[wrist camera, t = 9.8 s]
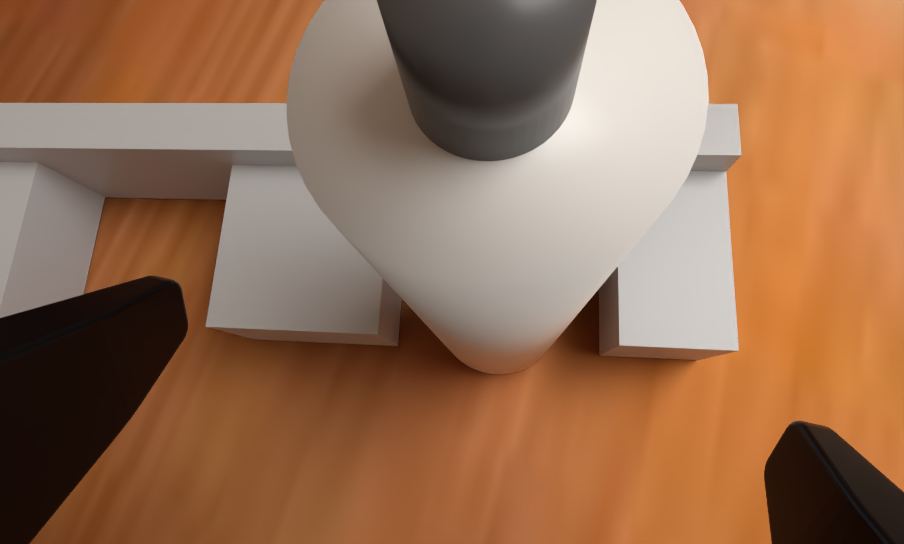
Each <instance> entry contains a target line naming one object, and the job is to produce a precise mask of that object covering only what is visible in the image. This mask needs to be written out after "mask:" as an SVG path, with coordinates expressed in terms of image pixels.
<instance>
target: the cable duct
mask: <svg viewBox="0 0 904 544" xmlns="http://www.w3.org/2000/svg"><path fill="white" fill-rule="evenodd" d="M740 156H741V143H740V130H739V118H738V105H737V104H708V110H707V119H706V127H705V130H704V134H703V138H702V141H701V145H700V149H699V152H698V154H697V157H696V159H695V161H694V163H693V166H692V168H691V170H690V173H689V175H688V177H687V179H686V180H685V182H684V183H683V185H682V186H681V188H680V190H679V191H678V193H677V194H676V196H675V197H674V199H673V201H672V202H671V203H670V204H669V205H668V207H667V208H666V209H665V210H664V211H663V213H662V214H661V215H660V216H659V217H658V219H657V220H656V221H655V222H654V223H653V225H652V226H651V227H650V228H649V229H648V231H647V232H646V233H645V234H644V235H643V237H642V238H641V239H640V240H639V241H638V243H637V244H636V245H635V246H634V247H633V249H632V250H631V251H630V252H629V253H628V255H627V256H626V257H625V258H624V259H623V261H622V262H621V263H620V264H619V265H618V267H617V268H616V269H615V270H614V271H613V273H612V274H611V275H610V276H609V277H608V279H607V280H606V281H605V282H604V283H603V285H602V286H601V287H600V288H599V356H617V357H639V358H660V359H681V360H701V359H705V358H710V357H714V356H718V355H722V354H727V353H731V352H735V351H739V348H738V334H737V320H736V306H735V291H734V277H733V263H732V249H731V235H730V221H729V206H728V192H727V178H726V171H727V170H728V169H729V168H730V167H731V166H732V165H733V164H734V163H735V161H736V160H737V159H738V158H739V157H740ZM105 197H106V198H156V199H206V200H226V206H225V212H224V218H223V224H222V230H221V236H220V242H219V248H218V254H217V260H216V266H215V272H214V278H213V284H212V291H211V297H210V303H209V309H208V315H207V321H206V327H208V328H212V329H216V330H220V331H223V332H227V333H231V334H235V335H238V336H242V337H246V338H250V339H256V340H277V341H299V342H320V343H341V344H362V345H384V346H398V339H399V326H400V313H401V301H402V298H401V297H400V296H399V295H398V294H397V293H396V292H395V291H394V290H393V289H392V288H391V287H390V285H389V284H388V283H387V282H386V281H385V280H384V279H383V278H382V277H381V276H380V275H379V274H378V272H377V271H376V270H375V269H374V268H373V267H372V266H371V265H370V264H369V263H368V262H367V261H366V260H365V258H364V257H363V256H362V255H361V254H360V253H359V252H358V251H357V250H356V249H355V248H354V247H353V245H352V244H351V243H350V242H349V241H348V240H347V239H346V238H345V237H344V236H343V235H342V234H341V233H340V231H339V230H338V229H337V228H336V227H335V226H334V225H333V224H332V222H331V221H330V220H329V219H328V218H327V216H326V215H325V214H324V213H323V212H322V211H321V209H320V208H319V207H318V205H317V204H316V202H315V200H314V199H313V197H312V196H311V194H310V192H309V191H308V189H307V188H306V186H305V184H304V181H303V179H302V177H301V174H300V172H299V170H298V168H297V165H296V163H295V159H294V155H293V152H292V148H291V144H290V141H289V133H288V125H287V103H0V318H2V317H5V316H9V315H12V314H16V313H19V312H23V311H27V310H30V309H34V308H37V307H41V306H44V305H48V304H51V303H55V302H58V301H62V300H65V299H69V298H72V297H76V296H79V295H83V294H84V290H85V285H86V281H87V276H88V272H89V267H90V263H91V258H92V254H93V249H94V245H95V240H96V236H97V231H98V227H99V222H100V218H101V213H102V209H103V204H104V200H105Z"/></svg>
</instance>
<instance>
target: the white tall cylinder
mask: <svg viewBox="0 0 904 544" xmlns="http://www.w3.org/2000/svg"><path fill="white" fill-rule="evenodd" d="M708 101H709V99H708V75H707V70H706V65H705V60H704V54H703V50H702V47H701V44H700V41H699V39H698V36H697V33H696V30H695V27H694V26H693V24H692V22H691V20H690V18H689V16H688V14H687V12H686V10H685V9H684V7H683V5H682V4H681V2H680V1H679V0H324V1H323V3H322V4H321V5H320V7H319V8H318V10H317V12H316V13H315V15H314V16H313V18H312V20H311V21H310V23H309V24H308V26H307V28H306V30H305V33H304V35H303V37H302V39H301V41H300V43H299V46H298V48H297V51H296V55H295V58H294V61H293V64H292V68H291V72H290V78H289V84H288V90H287V125H288V133H289V141H290V144H291V148H292V152H293V155H294V159H295V163H296V165H297V168H298V170H299V172H300V174H301V177H302V179H303V181H304V184H305V186H306V188H307V189H308V191H309V192H310V194H311V196H312V197H313V199H314V200H315V202H316V204H317V205H318V207H319V208H320V209H321V211H322V212H323V213H324V214H325V215H326V216H327V218H328V219H329V220H330V221H331V222H332V224H333V225H334V226H335V227H336V228H337V229H338V230H339V231H340V233H341V234H342V235H343V236H344V237H345V238H346V239H347V240H348V241H349V242H350V243H351V244H352V245H353V247H354V248H355V249H356V250H357V251H358V252H359V253H360V254H361V255H362V256H363V257H364V258H365V260H366V261H367V262H368V263H369V264H370V265H371V266H372V267H373V268H374V269H375V270H376V271H377V272H378V274H379V275H380V276H381V277H382V278H383V279H384V280H385V281H386V282H387V283H388V284H389V285H390V287H391V288H392V289H393V290H394V291H395V292H396V293H397V294H398V295H399V296H400V297H401V298H402V300H403V301H404V302H405V303H406V304H407V305H408V306H409V307H410V308H411V309H412V310H413V311H414V312H415V314H416V315H417V316H418V317H419V318H420V319H421V320H422V321H423V322H424V323H425V324H426V325H427V327H428V328H429V329H430V330H431V331H432V332H433V333H434V334H435V335H436V336H437V337H438V338H439V339H440V341H441V342H442V343H443V344H444V345H445V346H446V347H447V348H448V349H449V350H450V351H451V352H452V354H453V355H454V356H455V357H456V358H458V359H459V360H460V361H461V362H462V363H464V364H465V365H467V366H469V367H471V368H472V369H474V370H477V371H480V372H483V373H488V374H498V375H499V374H510V373H515V372H518V371H521V370H523V369H525V368H527V367H529V366H531V365H532V364H534V363H535V362H537V361H538V360H539V359H540V358H541V357H542V356H543V355H544V354H545V353H546V352H547V351H548V349H549V348H550V347H551V346H552V345H553V343H554V342H555V341H556V340H557V339H558V337H559V336H560V335H561V334H562V333H563V331H564V330H565V329H566V328H567V327H568V325H569V324H570V323H571V322H572V321H573V319H574V318H575V317H576V316H577V315H578V313H579V312H580V311H581V310H582V309H583V307H584V306H585V305H586V304H587V303H588V301H589V300H590V299H591V298H592V297H593V295H594V294H595V293H596V292H597V291H598V289H599V288H600V287H601V286H602V285H603V283H604V282H605V281H606V280H607V279H608V277H609V276H610V275H611V274H612V273H613V271H614V270H615V269H616V268H617V267H618V265H619V264H620V263H621V262H622V261H623V259H624V258H625V257H626V256H627V255H628V253H629V252H630V251H631V250H632V249H633V247H634V246H635V245H636V244H637V243H638V241H639V240H640V239H641V238H642V237H643V235H644V234H645V233H646V232H647V231H648V229H649V228H650V227H651V226H652V225H653V223H654V222H655V221H656V220H657V219H658V217H659V216H660V215H661V214H662V213H663V211H664V210H665V209H666V208H667V207H668V205H669V204H670V203H671V202H672V201H673V199H674V197H675V196H676V194H677V193H678V191H679V190H680V188H681V186H682V185H683V183H684V182H685V180H686V179H687V177H688V175H689V173H690V170H691V168H692V166H693V163H694V161H695V159H696V157H697V154H698V152H699V149H700V145H701V141H702V138H703V134H704V130H705V127H706V119H707V110H708Z"/></svg>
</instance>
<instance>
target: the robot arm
mask: <svg viewBox="0 0 904 544" xmlns="http://www.w3.org/2000/svg"><path fill="white" fill-rule="evenodd" d="M187 329H188V319H187V314H186V309H185V304H184V299H183V294H182V289H181V287H180V285H179V284H178V282H176V281H174V280H171V279H167V278H162V277H158V276H146V277H143V278H139V279H136V280H132V281H129V282H125V283H122V284H118V285H115V286H111V287H108V288H104V289H101V290H97V291H94V292H90V293H86V294H83V295H79V296H76V297H72V298H69V299H65V300H62V301H58V302H55V303H51V304H48V305H44V306H41V307H37V308H34V309H30V310H27V311H23V312H19V313H16V314H12V315H9V316H5V317H2V318H0V544H30V542H31V541H32V540H33V539H34V537H35V536H36V535H37V534H38V532H39V531H40V530H41V529H42V528H43V526H44V525H45V524H46V523H47V521H48V520H49V519H50V518H51V516H52V515H53V514H54V513H55V512H56V510H57V509H58V508H59V507H60V505H61V504H62V503H63V502H64V501H65V499H66V498H67V497H68V496H69V494H70V493H71V492H72V491H73V489H74V488H75V487H76V486H77V485H78V483H79V482H80V481H81V480H82V478H83V477H84V476H85V475H86V473H87V472H88V471H89V470H90V469H91V467H92V466H93V465H94V464H95V462H96V461H97V460H98V459H99V457H100V456H101V455H102V454H103V453H104V451H105V450H106V449H107V448H108V446H109V445H110V444H111V443H112V442H113V440H114V439H115V438H116V437H117V435H118V434H119V433H120V432H121V430H122V429H123V428H124V427H125V425H126V424H127V423H128V421H129V420H130V419H131V417H132V416H133V415H134V413H135V412H136V410H137V409H138V407H139V406H140V405H141V403H142V402H143V400H144V399H145V397H146V396H147V394H148V393H149V391H150V390H151V388H152V387H153V385H154V383H155V382H156V380H157V379H158V377H159V376H160V374H161V373H162V371H163V370H164V368H165V367H166V365H167V364H168V362H169V361H170V359H171V358H172V356H173V355H174V353H175V352H176V350H177V349H178V347H179V346H180V344H181V343H182V341H183V340H184V338H185V336H186V333H187ZM764 480H765V489H766V497H767V506H768V515H769V523H770V532H771V541H772V544H904V492H903V491H902V490H901V489H900V488H898V487H897V486H896V485H895V484H894V483H893V482H892V481H890V480H889V479H888V478H887V477H886V476H885V475H884V474H882V473H881V472H880V471H879V470H878V469H877V468H876V467H874V466H873V465H872V464H871V463H870V462H869V461H868V460H866V459H865V458H864V457H863V456H862V455H861V454H860V453H858V452H857V451H856V450H855V449H854V448H853V447H852V446H850V445H849V444H848V443H847V442H846V441H845V440H844V439H842V438H841V437H840V436H839V435H838V434H837V433H836V432H834V431H833V430H832V429H830V428H828V427H825V426H822V425H817V424H813V423H808V422H804V421H795V422H792V423H791V424H790V425H789V426H788V427H787V428H786V430H785V432H784V433H783V435H782V437H781V438H780V440H779V442H778V443H777V445H776V446H775V448H774V450H773V451H772V453H771V455H770V456H769V458H768V460H767V462H766V465H765V471H764Z"/></svg>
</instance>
